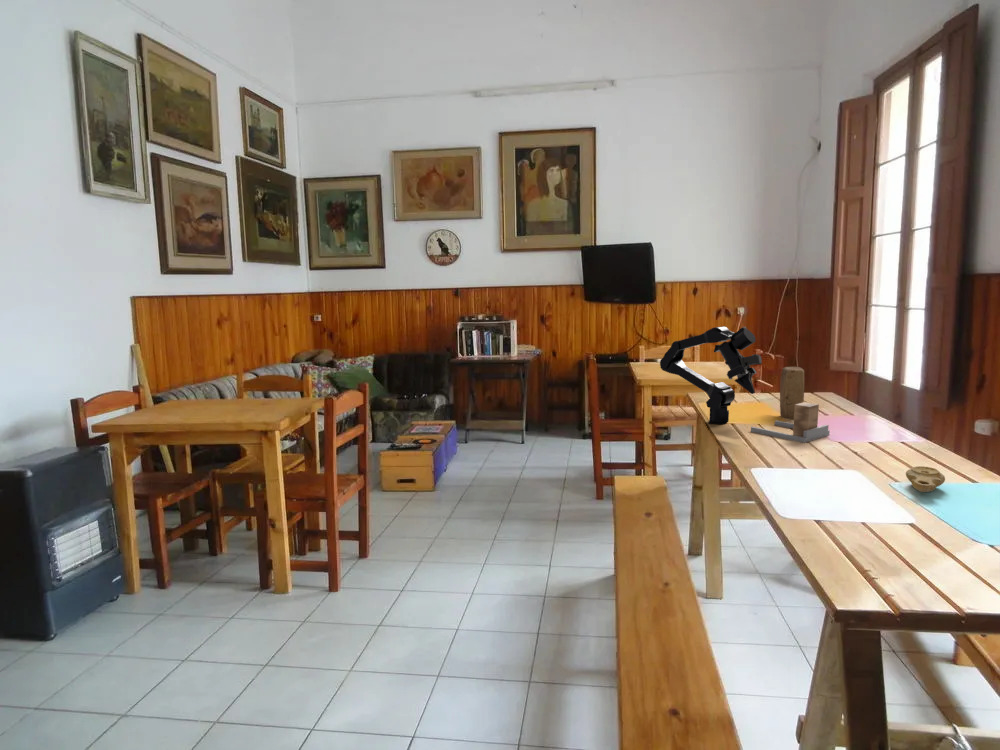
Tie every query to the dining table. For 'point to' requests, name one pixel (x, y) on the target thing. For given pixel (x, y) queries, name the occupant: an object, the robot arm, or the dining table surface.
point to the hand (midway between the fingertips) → (753, 393)
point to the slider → (805, 417)
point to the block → (791, 390)
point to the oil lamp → (925, 478)
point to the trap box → (807, 435)
